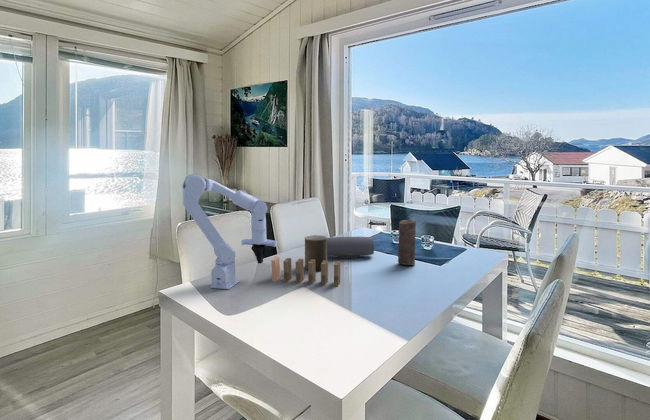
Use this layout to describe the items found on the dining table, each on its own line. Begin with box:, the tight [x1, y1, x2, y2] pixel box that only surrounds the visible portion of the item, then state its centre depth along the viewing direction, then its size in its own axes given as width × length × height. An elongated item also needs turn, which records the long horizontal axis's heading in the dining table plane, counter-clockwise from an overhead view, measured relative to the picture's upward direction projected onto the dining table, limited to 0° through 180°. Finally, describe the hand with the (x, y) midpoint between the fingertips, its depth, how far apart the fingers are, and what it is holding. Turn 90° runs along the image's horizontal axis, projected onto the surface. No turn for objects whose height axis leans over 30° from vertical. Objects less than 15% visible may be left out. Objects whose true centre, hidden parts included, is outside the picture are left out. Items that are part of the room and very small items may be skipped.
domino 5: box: [320, 259, 329, 286], centre depth 145 cm, size 5×2×8 cm, turn 166°
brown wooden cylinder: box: [397, 219, 417, 266], centre depth 165 cm, size 8×7×20 cm
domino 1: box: [270, 256, 281, 282], centre depth 150 cm, size 5×2×8 cm, turn 166°
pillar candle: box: [304, 234, 328, 272], centre depth 162 cm, size 10×10×15 cm
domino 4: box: [307, 259, 317, 285], centre depth 146 cm, size 5×2×8 cm, turn 166°
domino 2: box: [283, 257, 293, 283], centre depth 148 cm, size 5×2×8 cm, turn 166°
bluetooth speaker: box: [327, 236, 375, 259], centre depth 178 cm, size 23×9×10 cm, turn 92°
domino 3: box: [295, 258, 304, 284], centre depth 147 cm, size 5×2×8 cm, turn 166°
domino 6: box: [333, 260, 341, 287], centre depth 144 cm, size 5×2×8 cm, turn 166°
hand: (260, 262), depth 151 cm, fingers closed
